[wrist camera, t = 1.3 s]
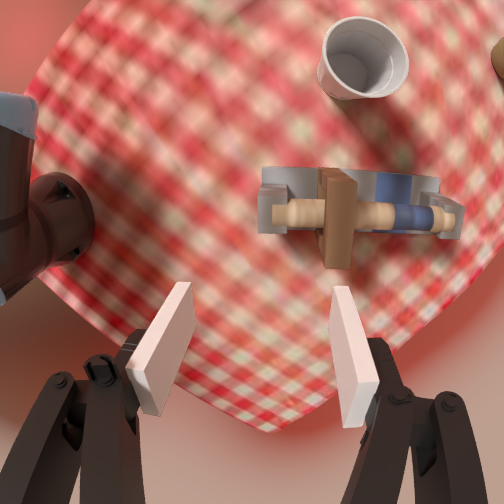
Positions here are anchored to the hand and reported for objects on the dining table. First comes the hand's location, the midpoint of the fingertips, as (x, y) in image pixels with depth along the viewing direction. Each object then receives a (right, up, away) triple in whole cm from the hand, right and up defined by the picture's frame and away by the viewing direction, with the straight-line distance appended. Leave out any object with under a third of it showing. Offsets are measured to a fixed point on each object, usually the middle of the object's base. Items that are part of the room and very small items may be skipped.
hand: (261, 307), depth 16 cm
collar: (+9, +9, +21) cm, 24 cm away
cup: (+11, +24, +16) cm, 31 cm away
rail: (+13, +9, +22) cm, 27 cm away
